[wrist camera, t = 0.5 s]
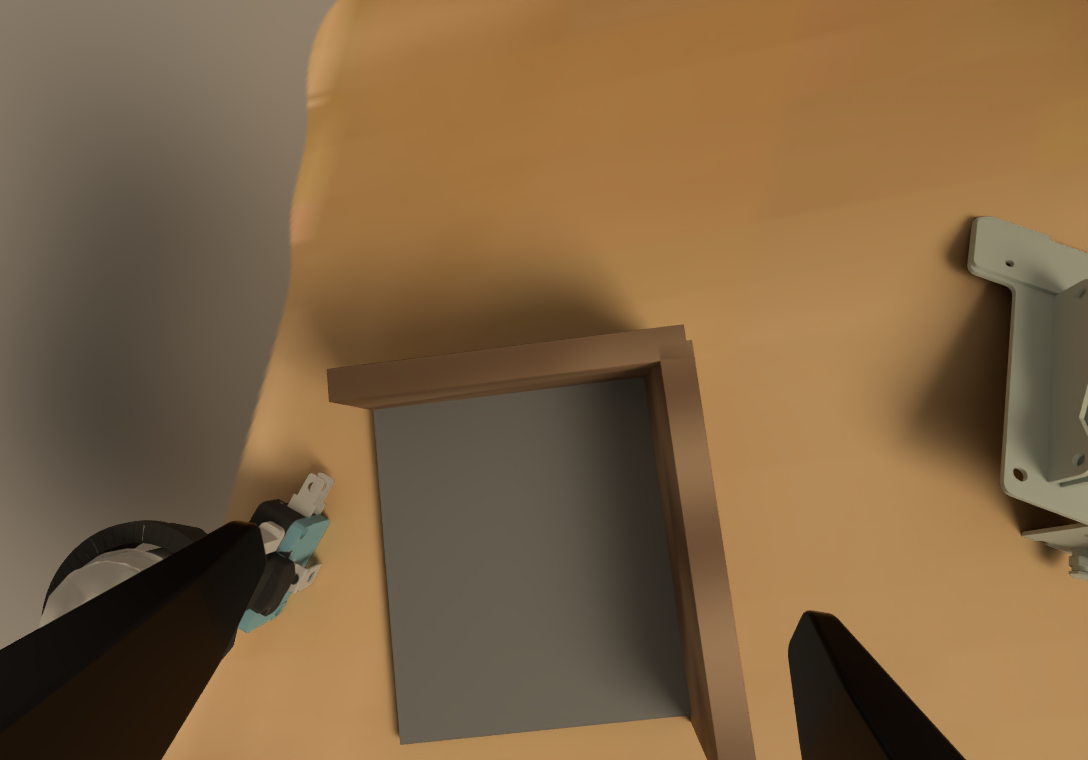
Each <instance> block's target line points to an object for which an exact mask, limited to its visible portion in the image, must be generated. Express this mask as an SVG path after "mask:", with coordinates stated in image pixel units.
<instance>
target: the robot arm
mask: <svg viewBox="0 0 1088 760" xmlns="http://www.w3.org/2000/svg"><path fill="white" fill-rule="evenodd" d="M266 563H267V557H266V552H265V547H264V543H263V538H262V533H261V529H260V527H259V526H258V525H257V524H255V523H249V522H243V521H232V522H229V523H227V524H225V525H224V526H222V527H220V528H218V529H217V530H215V531H213V532H211V533H209V534H207V535H206V536H204V537H202V538H200V539H198V540H197V541H195V542H193V543H191V544H189V545H188V546H186V547H184V548H182V549H180V550H179V551H177V552H175V553H173V554H171V555H170V556H168V557H166V558H164V559H163V560H161V561H159V562H157V563H155V564H154V565H152V566H150V567H148V568H146V569H145V570H143V571H141V572H139V573H137V574H136V575H134V576H132V577H130V578H128V579H127V580H125V581H123V582H121V583H119V584H118V585H116V586H114V587H112V588H110V589H109V590H107V591H105V592H103V593H102V594H100V595H98V596H96V597H94V598H93V599H91V600H89V601H87V602H85V603H84V604H82V605H80V606H78V607H76V608H75V609H73V610H71V611H69V612H67V613H66V614H64V615H62V616H60V617H58V618H57V619H55V620H53V621H51V622H49V623H48V624H46V625H44V626H42V627H41V628H39V629H37V630H35V631H33V632H32V633H30V634H28V635H26V636H25V637H23V638H21V639H19V640H17V641H15V642H14V643H12V644H10V645H8V646H6V647H5V648H3V649H1V650H0V760H161V759H162V758H163V756H164V754H165V753H166V751H167V749H168V748H169V746H170V745H171V743H172V741H173V740H174V738H175V736H176V735H177V733H178V731H179V730H180V728H181V726H182V725H183V723H184V722H185V720H186V718H187V717H188V715H189V713H190V712H191V710H192V708H193V707H194V705H195V703H196V702H197V700H198V698H199V697H200V695H201V694H202V692H203V690H204V689H205V687H206V685H207V684H208V682H209V680H210V679H211V677H212V675H213V674H214V672H215V670H216V669H217V667H218V665H219V663H220V662H221V660H222V658H223V656H224V654H225V652H226V650H227V648H228V646H229V645H230V642H231V640H232V638H233V636H234V634H235V632H236V630H237V628H238V626H239V624H240V622H241V620H242V617H243V615H244V613H245V611H246V609H247V607H248V605H249V603H250V601H251V599H252V597H253V595H254V593H255V590H256V588H257V586H258V584H259V582H260V580H261V578H262V576H263V574H264V571H265V568H266ZM788 659H789V667H790V675H791V682H792V690H793V698H794V705H795V713H796V721H797V728H798V736H799V743H800V750H801V756H802V760H966V759H965V758H964V757H963V756H962V755H961V754H960V753H959V751H958V750H957V749H956V748H955V747H954V746H953V745H952V744H951V743H950V742H949V740H948V739H947V738H946V737H945V736H944V735H943V734H942V733H941V732H940V731H939V729H938V728H937V727H936V726H935V725H934V724H933V723H932V722H931V721H930V720H929V718H928V717H927V716H926V715H925V714H924V713H923V712H922V711H921V710H920V709H919V707H918V706H917V705H916V704H915V703H914V702H913V701H912V700H911V699H910V698H909V696H908V695H907V694H906V693H905V692H904V691H903V690H902V689H901V688H900V686H899V685H898V684H897V683H896V682H895V681H894V680H893V679H892V678H891V677H890V675H889V674H888V673H887V672H886V671H885V670H884V669H883V668H882V667H881V666H880V664H879V663H878V662H877V661H876V660H875V659H874V658H873V657H872V656H871V655H870V653H869V652H868V651H867V650H866V649H865V648H864V647H863V646H862V645H861V644H860V642H859V641H858V640H857V639H856V638H855V637H854V636H853V635H852V634H851V633H850V631H849V630H848V629H847V628H846V627H845V626H844V625H843V624H842V623H841V621H840V620H839V619H838V618H837V617H835V616H834V615H832V614H830V613H824V612H818V611H811V610H809V611H806V612H804V613H803V615H802V617H801V619H800V621H799V623H798V625H797V627H796V630H795V632H794V634H793V636H792V638H791V640H790V643H789V648H788Z"/></svg>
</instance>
